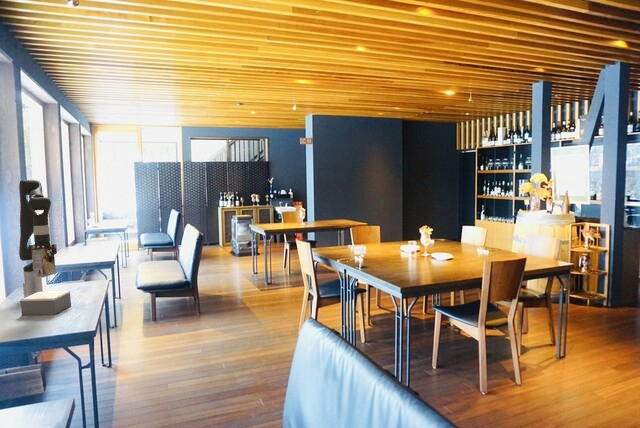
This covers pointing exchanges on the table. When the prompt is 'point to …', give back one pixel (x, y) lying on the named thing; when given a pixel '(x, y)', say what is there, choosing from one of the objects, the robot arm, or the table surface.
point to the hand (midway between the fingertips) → (43, 262)
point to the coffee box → (42, 262)
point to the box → (46, 306)
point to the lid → (45, 296)
